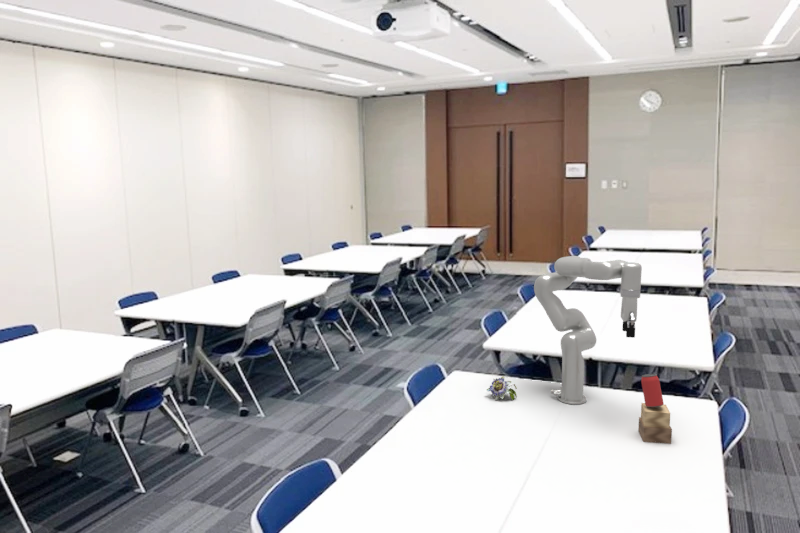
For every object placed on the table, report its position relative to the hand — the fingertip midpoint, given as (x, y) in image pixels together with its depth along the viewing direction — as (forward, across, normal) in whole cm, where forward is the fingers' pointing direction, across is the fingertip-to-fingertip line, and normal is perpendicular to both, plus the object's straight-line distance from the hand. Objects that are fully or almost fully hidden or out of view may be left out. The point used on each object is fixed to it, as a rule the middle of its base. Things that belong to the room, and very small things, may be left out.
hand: (628, 334), depth 255 cm
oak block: (+31, +17, +8) cm, 36 cm away
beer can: (+24, +18, +8) cm, 31 cm away
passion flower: (+37, -15, -51) cm, 65 cm away
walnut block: (+36, +18, +8) cm, 41 cm away
